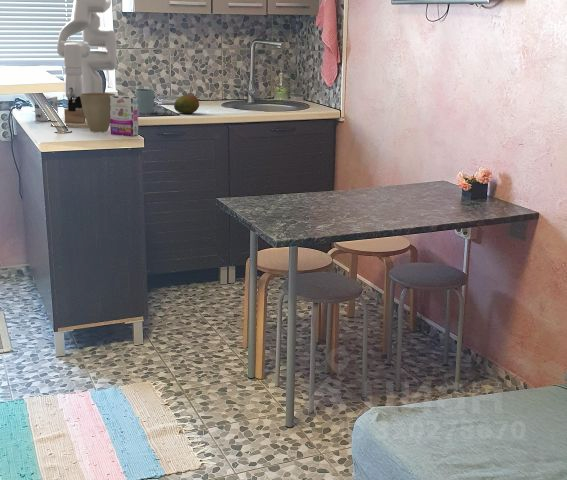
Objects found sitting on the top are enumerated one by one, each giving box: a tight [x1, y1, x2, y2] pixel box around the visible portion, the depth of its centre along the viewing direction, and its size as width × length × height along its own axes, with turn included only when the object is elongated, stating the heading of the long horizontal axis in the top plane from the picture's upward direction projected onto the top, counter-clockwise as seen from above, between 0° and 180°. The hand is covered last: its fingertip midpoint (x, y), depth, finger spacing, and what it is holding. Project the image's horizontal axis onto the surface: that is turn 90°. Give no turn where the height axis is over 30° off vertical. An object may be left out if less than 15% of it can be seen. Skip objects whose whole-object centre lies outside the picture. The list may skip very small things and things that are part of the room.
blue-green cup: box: [134, 88, 156, 115], centre depth 417 cm, size 10×10×12 cm
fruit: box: [173, 93, 200, 115], centre depth 421 cm, size 12×12×10 cm
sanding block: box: [63, 107, 86, 123], centre depth 364 cm, size 5×8×6 cm, turn 87°
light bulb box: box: [34, 95, 59, 122], centre depth 378 cm, size 11×7×11 cm, turn 168°
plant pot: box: [80, 92, 116, 133], centre depth 348 cm, size 15×15×16 cm
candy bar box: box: [109, 94, 139, 137], centre depth 340 cm, size 11×5×16 cm, turn 69°
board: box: [50, 119, 89, 129], centre depth 364 cm, size 13×18×1 cm
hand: (75, 109), depth 364 cm, fingers open, 9 cm apart
